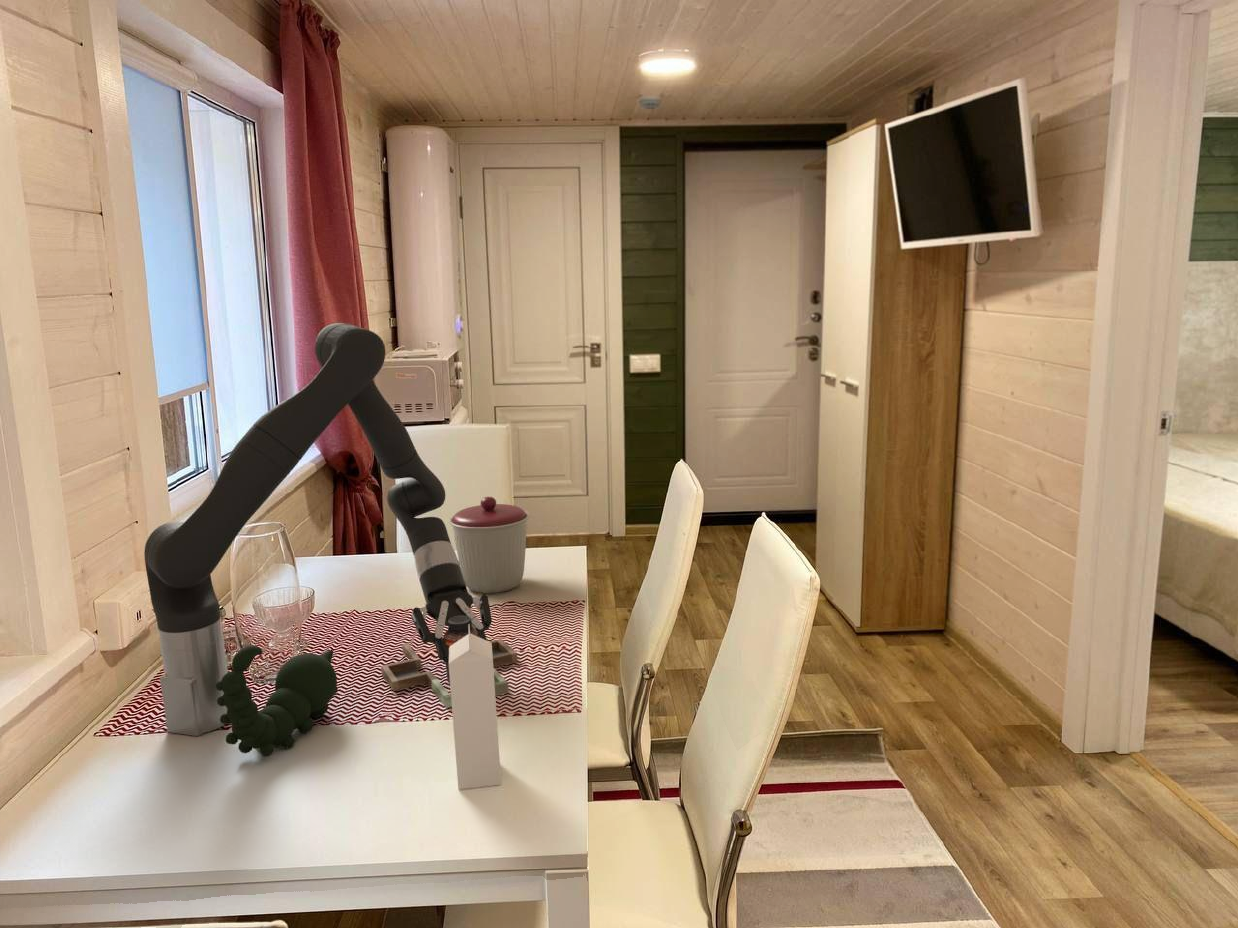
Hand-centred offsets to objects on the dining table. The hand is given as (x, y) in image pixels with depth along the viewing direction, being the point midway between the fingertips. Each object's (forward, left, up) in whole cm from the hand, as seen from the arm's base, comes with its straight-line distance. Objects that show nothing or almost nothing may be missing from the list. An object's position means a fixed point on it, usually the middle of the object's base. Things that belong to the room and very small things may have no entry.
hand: (465, 656), depth 161 cm
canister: (+50, +19, -6) cm, 54 cm away
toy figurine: (-22, +20, -6) cm, 30 cm away
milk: (-26, -15, -6) cm, 31 cm away
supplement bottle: (+1, +1, -5) cm, 6 cm away
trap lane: (+6, +6, -6) cm, 10 cm away
